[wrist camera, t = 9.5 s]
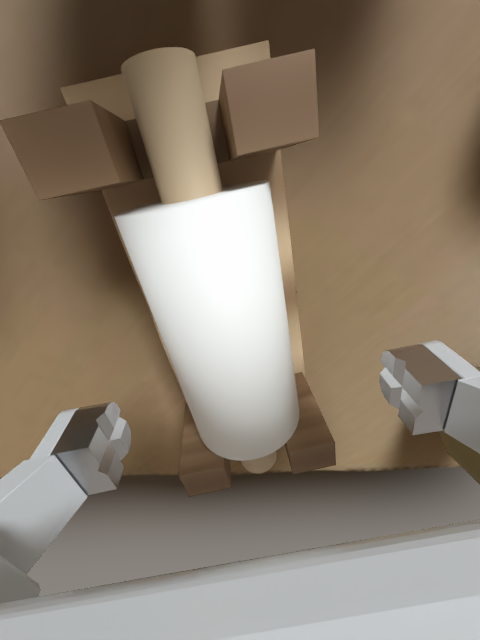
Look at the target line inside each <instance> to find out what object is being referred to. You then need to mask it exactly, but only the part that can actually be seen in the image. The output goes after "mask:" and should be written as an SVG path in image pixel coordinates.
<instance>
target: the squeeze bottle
mask: <svg viewBox="0 0 480 640" xmlns="http://www.w3.org/2000/svg"><path fill="white" fill-rule="evenodd" d="M475 368H476V369H477V370H478V371H480V367H475ZM444 431H445V430H443V431H438V432H439V434H440V436H441V439H442V441H443V443H444V446H445V448H446V450H447V453H448V454H449V455H450V456H451V457H452V458H453V459H454V460H455V461H456V462H457V463H458V464H459V465H461V466H462V467H463V468H464V469H465V470H466V471H467V472H468V473H469V474H470V475H471V476H472V477H473V478H474V479H475V480H476V481H477V482H478V483H479V484H480V454H479V453H478V452H476V451H474V450H473V449H471V448H469V447H468V446H466V445H465V444H463V443H461V442H460V441H458V440H456V439H455V438H453V437H452V436H450V435H448V434H447V433H445V432H444Z"/></svg>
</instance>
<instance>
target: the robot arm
mask: <svg viewBox="0 0 480 640" xmlns="http://www.w3.org/2000/svg"><path fill="white" fill-rule="evenodd" d="M381 363H382V364H383V365H384V366H385V368H384V369H383V370H382V372H381V373H380V386H381V390H382V392H383V395H384V397H385V398H386V400H387V401H388V403H389V404H390V405H392V406H394V407H396V408H398V409H399V415H398V416H399V418H400V419H401V420H402V422H403V423H404V424H405V426H406V427H407V428H408V430H409V431H410V433H411V434H412V435H417V434H424V433H430V432H437V431H443V430H445V431H444V432H445V433H447V434H448V435H450V436H452V437H453V438H455V439H456V440H458V441H460V442H461V443H463V444H465V445H466V446H468V447H469V448H471V449H473V450H474V451H476V452H478V453H479V454H480V371H478V370H477V369H476V368H475V367H473V366H472V365H471V364H469V363H468V362H467V361H466V360H464V359H463V358H462V357H460V356H459V355H458V354H456V353H455V352H454V351H453V350H451V349H450V348H449V347H447V346H446V345H445V344H443V343H442V342H440V341H437V340H434V341H429V342H424V343H420V344H417V345H411V346H406V347H401V348H396V349H391V350H386V351H384V352H383V354H382V357H381ZM120 412H121V410H120V409H119V407H118V405H117V404H116V403H113V402H110V403H104V404H98V405H92V406H86V407H80V408H75V409H69V410H64V411H63V412H61V413H59V415H58V416H57V418H56V419H55V421H54V422H53V424H52V425H51V427H50V429H49V430H48V432H47V433H46V435H45V436H44V438H43V439H42V441H41V442H40V444H39V446H38V447H37V449H36V450H35V452H34V453H33V455H32V456H31V458H30V460H25V461H23V462H22V463H20V464H19V465H18V466H17V467H15V468H14V469H13V470H12V471H10V472H9V473H8V474H7V475H5V476H4V477H3V478H2V479H0V640H480V520H474V521H468V522H462V523H457V524H452V525H445V526H439V527H434V528H428V529H422V530H417V531H411V532H405V533H399V534H394V535H388V536H382V537H376V538H371V539H365V540H359V541H354V542H348V543H342V544H336V545H331V546H325V547H319V548H313V549H308V550H302V551H296V552H291V553H285V554H279V555H273V556H268V557H262V558H256V559H250V560H245V561H239V562H233V563H228V564H222V565H217V566H210V567H204V568H199V569H193V570H187V571H181V572H176V573H170V574H164V575H159V576H153V577H147V578H142V579H136V580H130V581H124V582H119V583H113V584H107V585H102V586H96V587H90V588H85V589H79V590H73V591H67V592H62V593H57V594H50V595H44V596H39V597H38V595H39V593H40V590H41V589H40V586H39V584H38V583H37V582H35V581H34V580H33V579H31V578H30V577H29V576H28V575H27V573H28V572H29V571H30V570H31V568H32V567H33V566H34V564H35V563H36V562H37V561H38V559H39V558H40V557H41V556H42V554H43V553H44V552H45V550H46V549H47V548H48V547H49V545H50V544H51V543H52V542H53V540H54V539H55V538H56V536H57V535H58V534H59V533H60V531H61V530H62V529H63V528H64V526H65V525H66V524H67V523H68V521H69V520H70V519H71V517H72V516H73V515H74V514H75V512H76V511H77V510H78V509H79V507H80V506H81V505H82V504H83V502H84V501H85V500H86V498H87V495H91V494H96V493H100V492H105V491H110V490H115V489H117V487H118V484H119V481H120V478H121V475H122V471H123V468H124V465H123V463H122V461H121V460H122V459H123V458H124V457H125V456H126V454H127V453H128V452H129V448H130V445H131V431H130V427H129V425H128V423H127V421H126V420H124V419H122V418H120V417H119V415H120Z"/></svg>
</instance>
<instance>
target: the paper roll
mask: <svg viewBox="0 0 480 640" xmlns="http://www.w3.org/2000/svg"><path fill="white" fill-rule="evenodd" d="M121 72H122V75H123V78H124V82H125V85H126V88H127V92H128V95H129V98H130V101H131V105H132V108H133V111H134V114H135V118H136V121H137V124H138V127H139V131H140V134H141V137H142V140H143V144H144V147H145V150H146V153H147V157H148V160H149V163H150V166H151V170H152V173H153V176H154V179H155V183H156V186H157V189H158V192H159V196H160V199H161V201H158V202H154V203H150V204H147V205H143V206H140V207H136V208H133V209H130V210H127V211H124V212H121V213H119V214H117V215H115V216H114V218H115V220H116V223H117V226H118V228H119V231H120V233H121V236H122V238H123V241H124V243H125V246H126V248H127V251H128V254H129V256H130V259H131V261H132V264H133V266H134V269H135V271H136V274H137V276H138V279H139V282H140V284H141V287H142V289H143V292H144V294H145V297H146V299H147V302H148V304H149V307H150V310H151V312H152V315H153V317H154V320H155V322H156V325H157V327H158V330H159V332H160V335H161V338H162V340H163V343H164V345H165V348H166V350H167V353H168V355H169V358H170V360H171V363H172V366H173V368H174V371H175V373H176V376H177V378H178V381H179V383H180V386H181V388H182V391H183V394H184V396H185V399H186V401H187V404H188V406H189V409H190V411H191V414H192V416H193V419H194V421H195V424H196V427H197V429H198V432H199V434H200V437H201V439H202V441H203V443H204V444H205V445H206V447H207V448H208V449H210V450H211V451H212V452H213V453H215V454H216V455H219V456H221V457H223V458H226V459H230V460H239V461H241V462H242V465H243V466H244V468H245V469H246V470H248V471H249V472H252V473H263V472H266V471H268V470H269V469H271V468H272V467H273V465H274V464H275V462H276V459H277V452H276V450H278V449H279V448H281V447H282V446H283V445H284V444H285V443H286V442H287V441H288V440H289V439H290V438H291V436H292V435H293V433H294V432H295V430H296V428H297V425H298V422H299V404H298V397H297V389H296V381H295V373H294V366H293V358H292V350H291V343H290V335H289V327H288V319H287V312H286V304H285V296H284V289H283V281H282V273H281V265H280V258H279V250H278V242H277V234H276V227H275V219H274V211H273V204H272V196H271V188H270V181H268V180H262V181H253V182H246V183H240V184H234V185H229V186H224V187H222V184H221V179H220V174H219V169H218V164H217V160H216V155H215V150H214V145H213V140H212V135H211V130H210V125H209V121H208V116H207V111H206V106H205V101H204V96H203V91H202V86H201V82H200V77H199V72H198V67H197V62H196V57H195V54H194V52H193V51H191V50H189V49H186V48H181V47H164V48H157V49H152V50H148V51H144V52H141V53H139V54H136V55H134V56H132V57H130V58H129V59H127V60H126V61H125V62H124V63H123V64H122V66H121Z"/></svg>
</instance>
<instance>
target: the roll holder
mask: <svg viewBox="0 0 480 640" xmlns="http://www.w3.org/2000/svg"><path fill="white" fill-rule="evenodd" d="M196 62H197V67H198V72H199V77H200V82H201V86H202V91H203V96H204V101H205V106H206V111H207V116H208V121H209V125H210V130H211V135H212V140H213V145H214V150H215V155H216V160H217V164H218V169H219V174H220V179H221V184H222V187H224V186H229V185H234V184H240V183H246V182H253V181H262V180H268V181H270V188H271V196H272V204H273V211H274V219H275V227H276V234H277V242H278V250H279V258H280V265H281V273H282V281H283V289H284V296H285V304H286V312H287V319H288V327H289V335H290V343H291V350H292V358H293V366H294V373H295V381H296V389H297V397H298V404H299V422H298V425H297V428H296V430H295V432H294V433H293V435H292V436H291V438H290V439H289V440H288V441H287V442H286V443H285V447H286V451H287V454H288V458H289V462H290V465H291V469H292V472H293V474H297V473H301V472H306V471H311V470H315V469H320V468H324V467H329V466H333V465H336V457H335V442H334V440H333V437H332V435H331V433H330V431H329V429H328V427H327V424H326V422H325V420H324V418H323V416H322V414H321V412H320V409H319V407H318V405H317V403H316V401H315V399H314V396H313V394H312V392H311V390H310V388H309V386H308V384H307V381H306V378H305V369H304V360H303V351H302V341H301V332H300V323H299V314H298V305H297V296H296V286H295V277H294V268H293V259H292V250H291V241H290V231H289V222H288V213H287V204H286V195H285V185H284V176H283V167H282V158H281V149H283V148H286V147H289V146H292V145H296V144H299V143H302V142H305V141H308V140H311V139H314V138H317V137H319V122H318V102H317V82H316V62H315V48H314V49H310V50H306V51H301V52H297V53H292V54H288V55H284V56H279V57H275V58H271V57H270V48H269V40H267V41H262V42H258V43H254V44H249V45H245V46H240V47H236V48H232V49H227V50H223V51H219V52H214V53H210V54H206V55H201V56H197V57H196ZM60 89H61V92H62V94H63V97H64V99H65V102H66V104H67V105H65V106H61V107H57V108H52V109H48V110H43V111H39V112H35V113H30V114H26V115H22V116H17V117H13V118H8V119H4V120H0V124H1V126H2V128H3V130H4V132H5V134H6V136H7V138H8V140H9V142H10V143H11V145H12V147H13V149H14V151H15V153H16V155H17V157H18V159H19V161H20V163H21V165H22V167H23V169H24V171H25V173H26V175H27V177H28V179H29V181H30V183H31V185H32V187H33V189H34V191H35V193H36V195H37V197H38V199H39V200H44V199H50V198H56V197H62V196H68V195H74V194H80V193H86V192H92V191H98V190H101V192H102V195H103V197H104V200H105V202H106V205H107V207H108V210H109V212H110V215H111V217H112V220H113V222H114V225H115V227H116V230H117V232H118V235H119V237H120V240H121V242H122V245H123V247H124V250H125V252H126V255H127V257H128V260H129V262H130V265H131V267H132V270H133V272H134V275H135V277H136V280H137V282H138V285H139V287H140V290H141V292H142V295H143V297H144V300H145V302H146V305H147V307H148V310H149V312H150V315H151V317H152V320H153V322H154V325H155V327H156V330H157V332H158V335H159V337H160V340H161V342H162V345H163V347H164V350H165V352H166V355H167V357H168V360H169V362H170V365H171V367H172V370H173V372H174V375H175V377H176V380H177V382H178V385H179V387H180V390H181V392H182V395H183V397H184V400H185V402H186V407H185V417H184V427H183V436H182V446H181V456H180V466H179V478H180V480H181V482H182V484H183V486H184V488H185V490H186V492H187V494H188V496H189V497H191V496H195V495H200V494H205V493H210V492H214V491H219V490H223V489H228V488H231V473H230V459H226V458H223V457H221V456H219V455H216V454H215V453H213V452H212V451H211V450H210V449H208V448H207V447H206V445H205V444H204V443H203V441H202V439H201V437H200V434H199V432H198V429H197V427H196V424H195V421H194V419H193V416H192V414H191V411H190V409H189V406H188V404H187V401H186V399H185V396H184V394H183V391H182V388H181V386H180V383H179V381H178V378H177V376H176V373H175V371H174V368H173V366H172V363H171V360H170V358H169V355H168V353H167V350H166V348H165V345H164V343H163V340H162V338H161V335H160V332H159V330H158V327H157V325H156V322H155V320H154V317H153V315H152V312H151V310H150V307H149V304H148V302H147V299H146V297H145V294H144V292H143V289H142V287H141V284H140V282H139V279H138V276H137V274H136V271H135V269H134V266H133V264H132V261H131V259H130V256H129V254H128V251H127V248H126V246H125V243H124V241H123V238H122V236H121V233H120V231H119V228H118V226H117V223H116V220H115V218H114V216H115V215H117V214H119V213H121V212H124V211H127V210H130V209H133V208H136V207H140V206H143V205H147V204H150V203H154V202H158V201H161V199H160V196H159V192H158V189H157V186H156V183H155V179H154V176H153V173H152V170H151V166H150V163H149V160H148V157H147V153H146V150H145V147H144V144H143V140H142V137H141V134H140V131H139V127H138V124H137V121H136V118H135V114H134V111H133V108H132V105H131V101H130V98H129V95H128V92H127V88H126V85H125V82H124V78H123V75H122V74H118V75H114V76H110V77H105V78H101V79H97V80H92V81H88V82H83V83H79V84H75V85H70V86H66V87H62V88H60Z"/></svg>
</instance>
